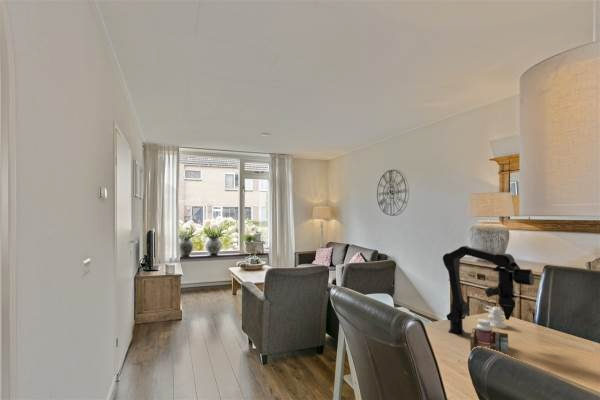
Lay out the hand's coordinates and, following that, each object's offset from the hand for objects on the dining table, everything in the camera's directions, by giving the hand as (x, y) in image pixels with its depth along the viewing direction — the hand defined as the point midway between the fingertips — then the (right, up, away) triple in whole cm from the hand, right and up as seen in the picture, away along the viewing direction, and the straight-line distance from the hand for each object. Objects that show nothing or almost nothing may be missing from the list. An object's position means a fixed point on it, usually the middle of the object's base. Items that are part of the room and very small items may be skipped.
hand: (507, 316), depth 148 cm
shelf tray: (-10, -13, -3) cm, 16 cm away
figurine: (+12, -15, +27) cm, 33 cm away
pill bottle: (-12, -12, -3) cm, 17 cm away
